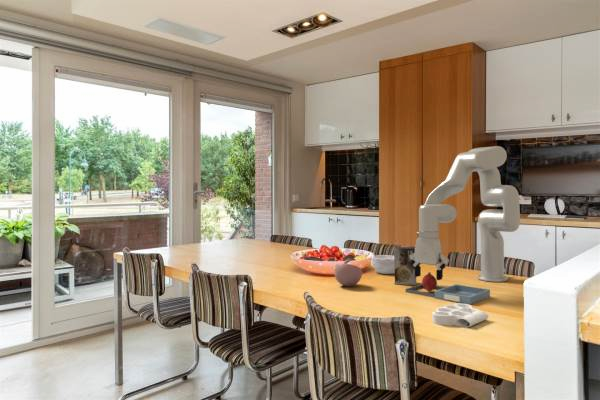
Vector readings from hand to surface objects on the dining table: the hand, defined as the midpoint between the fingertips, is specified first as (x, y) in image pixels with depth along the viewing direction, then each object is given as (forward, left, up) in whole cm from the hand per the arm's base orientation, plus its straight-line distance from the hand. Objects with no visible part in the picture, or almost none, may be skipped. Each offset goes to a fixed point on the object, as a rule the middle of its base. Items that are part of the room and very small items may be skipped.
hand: (428, 277), depth 177 cm
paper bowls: (-23, -37, -6) cm, 44 cm away
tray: (-1, +14, -6) cm, 15 cm away
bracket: (-1, 0, -6) cm, 6 cm away
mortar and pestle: (+13, -31, -6) cm, 34 cm away
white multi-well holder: (+26, +26, -6) cm, 38 cm away
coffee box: (-8, -16, -6) cm, 19 cm away
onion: (-1, 0, -6) cm, 6 cm away
